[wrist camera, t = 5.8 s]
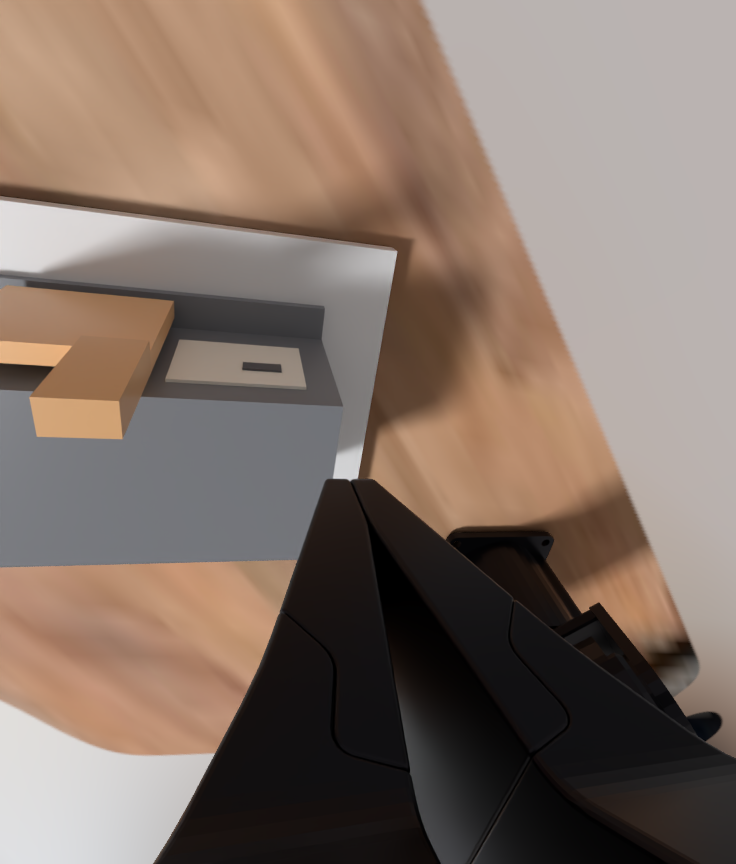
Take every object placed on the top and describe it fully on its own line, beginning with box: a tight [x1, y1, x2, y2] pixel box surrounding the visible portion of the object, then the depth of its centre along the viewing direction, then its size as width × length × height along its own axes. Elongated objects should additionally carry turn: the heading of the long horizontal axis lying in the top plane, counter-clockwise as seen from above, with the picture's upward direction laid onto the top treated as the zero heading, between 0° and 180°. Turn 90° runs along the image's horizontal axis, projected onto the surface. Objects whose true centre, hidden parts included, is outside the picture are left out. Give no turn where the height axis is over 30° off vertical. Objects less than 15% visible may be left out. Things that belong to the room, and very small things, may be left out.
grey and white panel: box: [0, 196, 397, 567], centre depth 17 cm, size 18×13×7 cm
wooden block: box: [0, 285, 174, 439], centre depth 13 cm, size 5×1×8 cm, turn 81°
